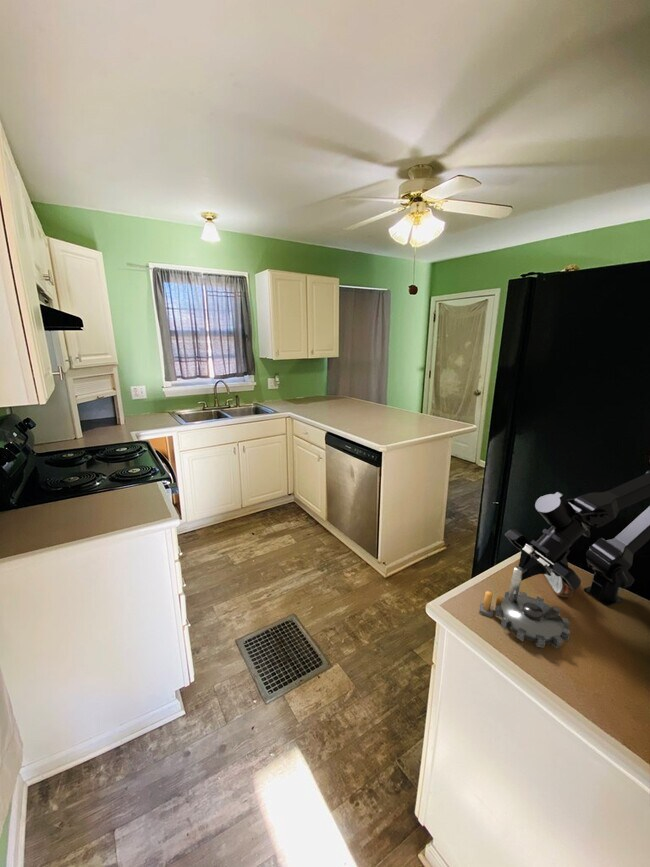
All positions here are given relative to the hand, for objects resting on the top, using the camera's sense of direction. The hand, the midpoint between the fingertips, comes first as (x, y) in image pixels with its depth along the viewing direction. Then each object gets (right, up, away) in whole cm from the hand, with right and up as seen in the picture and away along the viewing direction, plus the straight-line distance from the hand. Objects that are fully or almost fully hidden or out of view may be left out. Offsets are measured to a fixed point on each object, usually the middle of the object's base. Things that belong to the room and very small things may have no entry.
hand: (515, 580), depth 89 cm
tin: (+16, -6, +11) cm, 20 cm away
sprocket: (+1, -8, -4) cm, 9 cm away
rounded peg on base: (-7, -8, 0) cm, 11 cm away
